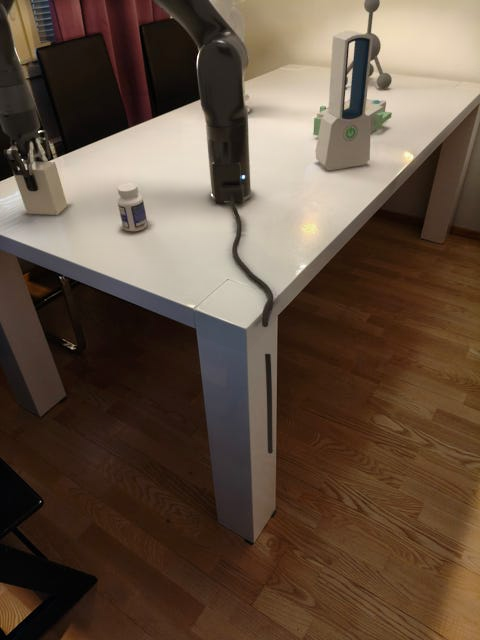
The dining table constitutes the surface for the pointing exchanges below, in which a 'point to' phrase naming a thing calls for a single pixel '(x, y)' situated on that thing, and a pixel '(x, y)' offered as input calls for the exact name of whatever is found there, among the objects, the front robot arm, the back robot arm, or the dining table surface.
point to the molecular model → (374, 48)
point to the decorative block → (373, 111)
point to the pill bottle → (131, 208)
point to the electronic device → (352, 123)
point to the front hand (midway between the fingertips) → (39, 185)
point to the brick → (43, 190)
